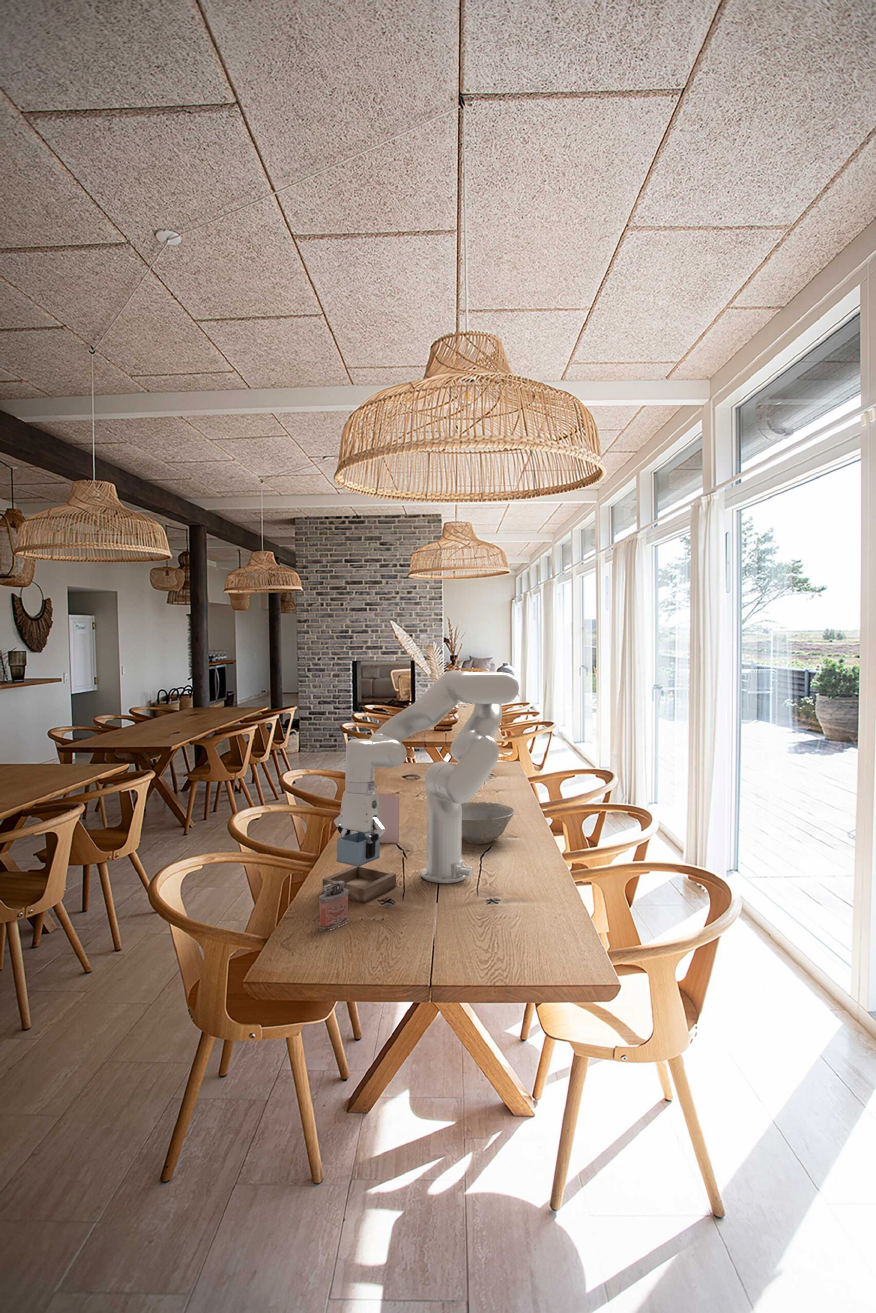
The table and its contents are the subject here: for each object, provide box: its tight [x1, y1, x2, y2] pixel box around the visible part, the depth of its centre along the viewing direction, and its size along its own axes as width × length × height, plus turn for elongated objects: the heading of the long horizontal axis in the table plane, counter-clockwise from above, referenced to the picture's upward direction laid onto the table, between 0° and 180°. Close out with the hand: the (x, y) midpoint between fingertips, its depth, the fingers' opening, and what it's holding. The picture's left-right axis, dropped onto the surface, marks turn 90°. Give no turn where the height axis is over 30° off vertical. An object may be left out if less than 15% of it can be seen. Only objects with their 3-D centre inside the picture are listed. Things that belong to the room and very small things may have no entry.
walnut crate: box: [322, 865, 397, 904], centre depth 187 cm, size 14×14×4 cm
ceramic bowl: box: [461, 801, 515, 845], centre depth 232 cm, size 22×23×10 cm
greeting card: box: [374, 791, 400, 844], centre depth 229 cm, size 11×7×15 cm, turn 56°
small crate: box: [336, 831, 381, 867], centre depth 187 cm, size 7×9×6 cm
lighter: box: [318, 881, 349, 932], centre depth 164 cm, size 8×3×10 cm, turn 141°
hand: (358, 854), depth 187 cm, fingers closed on small crate, 7 cm apart
